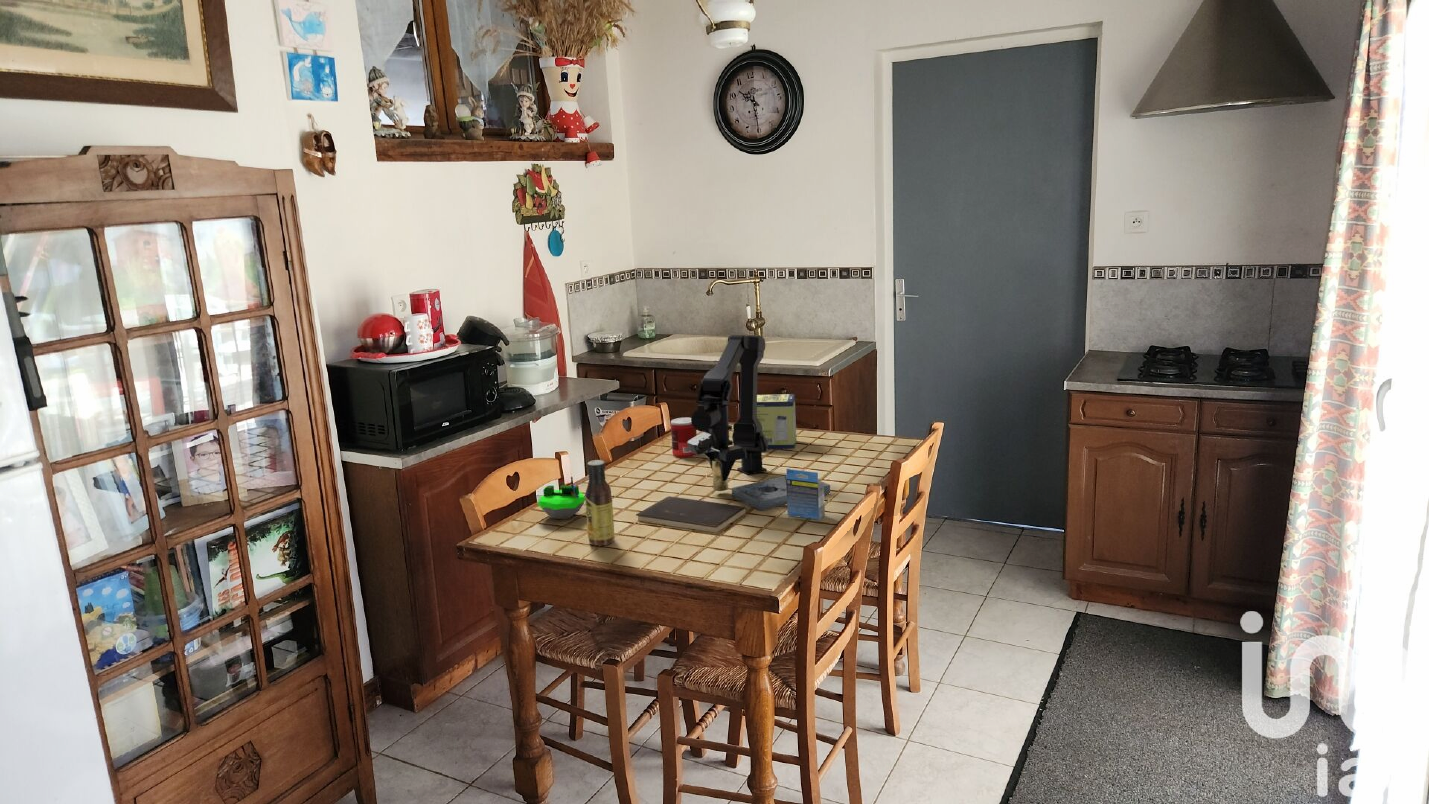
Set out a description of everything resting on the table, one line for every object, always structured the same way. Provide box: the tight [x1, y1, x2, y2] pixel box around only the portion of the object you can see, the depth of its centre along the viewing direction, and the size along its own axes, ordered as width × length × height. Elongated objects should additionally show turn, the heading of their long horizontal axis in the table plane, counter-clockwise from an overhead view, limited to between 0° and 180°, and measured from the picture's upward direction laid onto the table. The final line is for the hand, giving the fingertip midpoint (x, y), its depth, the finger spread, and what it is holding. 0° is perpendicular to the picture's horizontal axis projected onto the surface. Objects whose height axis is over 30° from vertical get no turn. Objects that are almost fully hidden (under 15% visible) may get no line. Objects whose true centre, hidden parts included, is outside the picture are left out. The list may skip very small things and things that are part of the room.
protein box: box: [757, 393, 797, 450], centre depth 299 cm, size 10×16×16 cm
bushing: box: [711, 459, 729, 492], centre depth 253 cm, size 4×4×8 cm
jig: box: [731, 474, 831, 511], centre depth 251 cm, size 14×22×3 cm, turn 120°
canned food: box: [670, 416, 698, 459], centre depth 293 cm, size 8×8×11 cm
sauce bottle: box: [584, 459, 615, 547], centre depth 221 cm, size 7×6×20 cm
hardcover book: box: [635, 495, 748, 533], centre depth 238 cm, size 16×23×2 cm
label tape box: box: [785, 468, 826, 521], centre depth 233 cm, size 9×4×12 cm, turn 60°
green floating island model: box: [537, 476, 585, 520], centre depth 241 cm, size 12×12×11 cm
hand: (720, 478), depth 254 cm, fingers closed on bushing, 4 cm apart
